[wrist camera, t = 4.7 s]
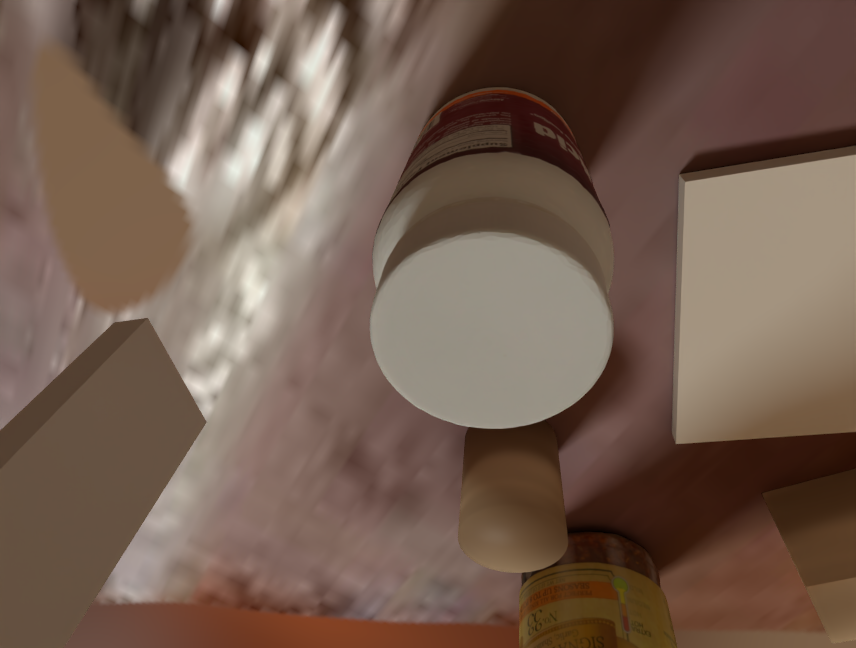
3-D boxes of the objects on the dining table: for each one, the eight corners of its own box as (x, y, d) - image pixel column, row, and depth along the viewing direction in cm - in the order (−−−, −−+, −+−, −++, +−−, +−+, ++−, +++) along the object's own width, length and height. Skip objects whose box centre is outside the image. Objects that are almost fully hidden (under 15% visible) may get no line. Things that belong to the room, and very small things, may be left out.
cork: (457, 413, 22) (448, 508, 18) (552, 405, 21) (563, 503, 17) (473, 476, 23) (468, 574, 20) (560, 470, 23) (572, 571, 19)
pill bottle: (601, 210, 16) (674, 407, 9) (453, 266, 18) (423, 470, 11) (545, 48, 14) (588, 151, 7) (382, 128, 16) (290, 276, 9)
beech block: (760, 491, 22) (805, 586, 19) (875, 461, 21) (945, 559, 17) (786, 547, 24) (831, 643, 21) (893, 523, 22) (961, 622, 19)
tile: (679, 174, 15) (685, 181, 15) (1122, 101, 13) (1146, 108, 13) (671, 432, 21) (676, 444, 20) (988, 408, 19) (1001, 421, 18)
